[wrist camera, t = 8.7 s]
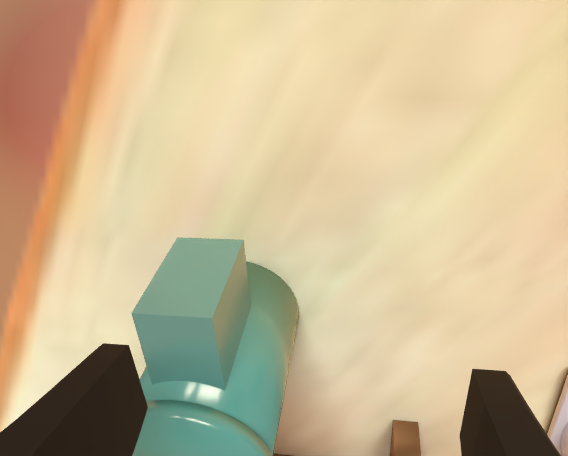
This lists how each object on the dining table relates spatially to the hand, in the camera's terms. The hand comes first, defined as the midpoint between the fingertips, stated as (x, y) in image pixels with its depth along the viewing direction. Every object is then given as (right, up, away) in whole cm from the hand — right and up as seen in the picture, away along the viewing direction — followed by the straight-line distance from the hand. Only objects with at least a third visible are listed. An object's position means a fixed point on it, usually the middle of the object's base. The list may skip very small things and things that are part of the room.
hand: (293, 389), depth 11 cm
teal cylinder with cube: (-2, +1, +11) cm, 11 cm away
